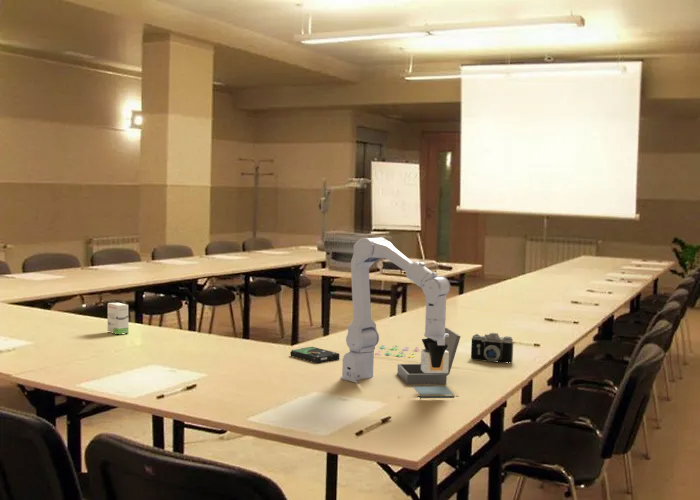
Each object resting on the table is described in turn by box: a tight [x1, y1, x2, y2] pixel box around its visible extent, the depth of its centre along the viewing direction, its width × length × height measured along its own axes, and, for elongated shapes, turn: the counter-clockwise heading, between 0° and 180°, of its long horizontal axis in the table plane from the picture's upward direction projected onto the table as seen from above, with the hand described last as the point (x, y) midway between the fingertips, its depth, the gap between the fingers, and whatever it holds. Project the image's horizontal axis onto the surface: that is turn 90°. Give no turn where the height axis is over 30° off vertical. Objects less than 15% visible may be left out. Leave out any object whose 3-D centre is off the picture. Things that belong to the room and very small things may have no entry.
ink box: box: [107, 302, 129, 334], centre depth 300 cm, size 9×5×12 cm, turn 45°
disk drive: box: [290, 346, 340, 364], centre depth 265 cm, size 10×3×15 cm
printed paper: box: [375, 344, 420, 358], centre depth 279 cm, size 30×30×2 cm
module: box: [420, 348, 449, 373], centre depth 220 cm, size 7×5×6 cm
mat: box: [412, 385, 455, 399], centre depth 221 cm, size 10×10×1 cm
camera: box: [470, 332, 514, 364], centre depth 267 cm, size 15×7×10 cm, turn 66°
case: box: [397, 327, 461, 386], centre depth 235 cm, size 16×15×16 cm
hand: (433, 365), depth 220 cm, fingers closed on module, 5 cm apart
